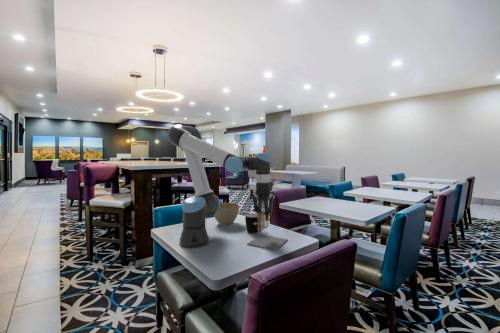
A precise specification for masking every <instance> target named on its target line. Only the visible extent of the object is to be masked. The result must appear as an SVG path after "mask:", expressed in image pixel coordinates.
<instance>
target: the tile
mask: <svg viewBox="0 0 500 333" xmlns="http://www.w3.org/2000/svg"><path fill="white" fill-rule="evenodd" d="M257 214H258V232H263V230H265V229H267V228H268V227H269V220H267V226H266V227H264V214H265V209H264V210H261V212H260V213H257Z"/></svg>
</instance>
